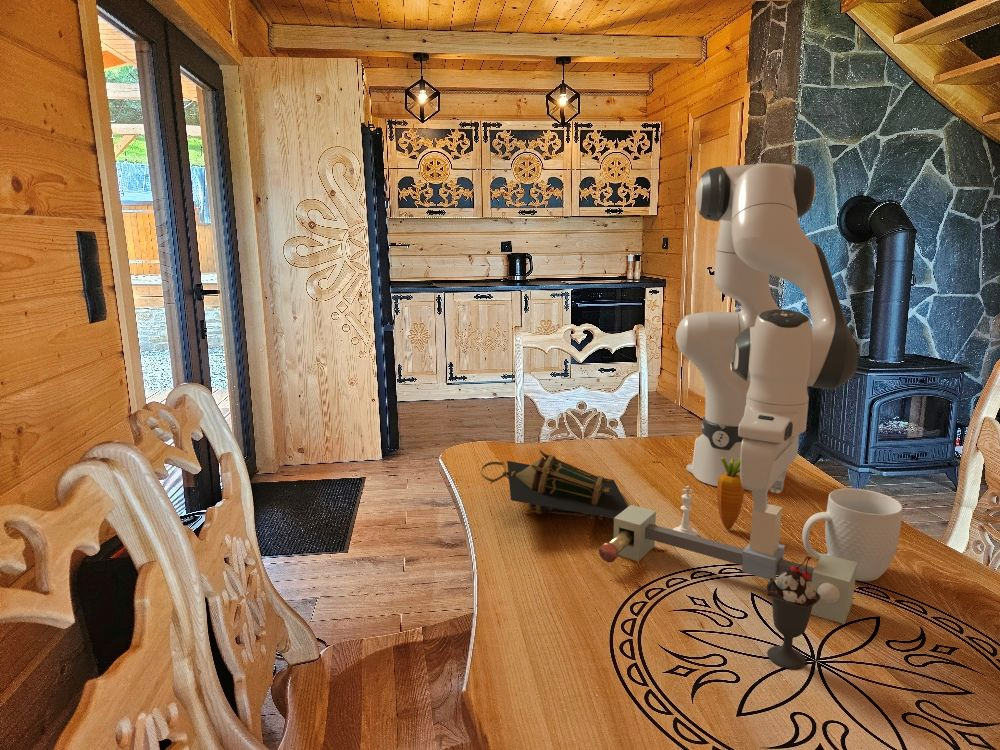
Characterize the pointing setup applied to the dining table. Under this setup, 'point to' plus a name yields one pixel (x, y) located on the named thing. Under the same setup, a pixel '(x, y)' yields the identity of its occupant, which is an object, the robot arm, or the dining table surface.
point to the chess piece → (686, 514)
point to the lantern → (561, 488)
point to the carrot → (730, 493)
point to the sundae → (791, 613)
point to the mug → (859, 530)
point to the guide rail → (827, 577)
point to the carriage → (764, 544)
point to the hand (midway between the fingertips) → (768, 500)
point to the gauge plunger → (616, 545)
